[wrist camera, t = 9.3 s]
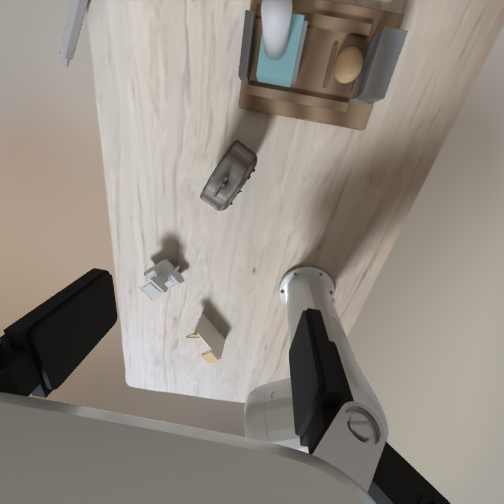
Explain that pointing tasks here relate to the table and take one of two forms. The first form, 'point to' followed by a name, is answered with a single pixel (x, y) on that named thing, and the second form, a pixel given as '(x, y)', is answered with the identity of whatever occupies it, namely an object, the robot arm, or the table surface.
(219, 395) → the table surface
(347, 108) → the board
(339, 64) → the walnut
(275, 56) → the teal sliding block
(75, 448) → the robot arm
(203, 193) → the alarm clock
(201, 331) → the model
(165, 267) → the stamp
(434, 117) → the table surface
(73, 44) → the caliper
